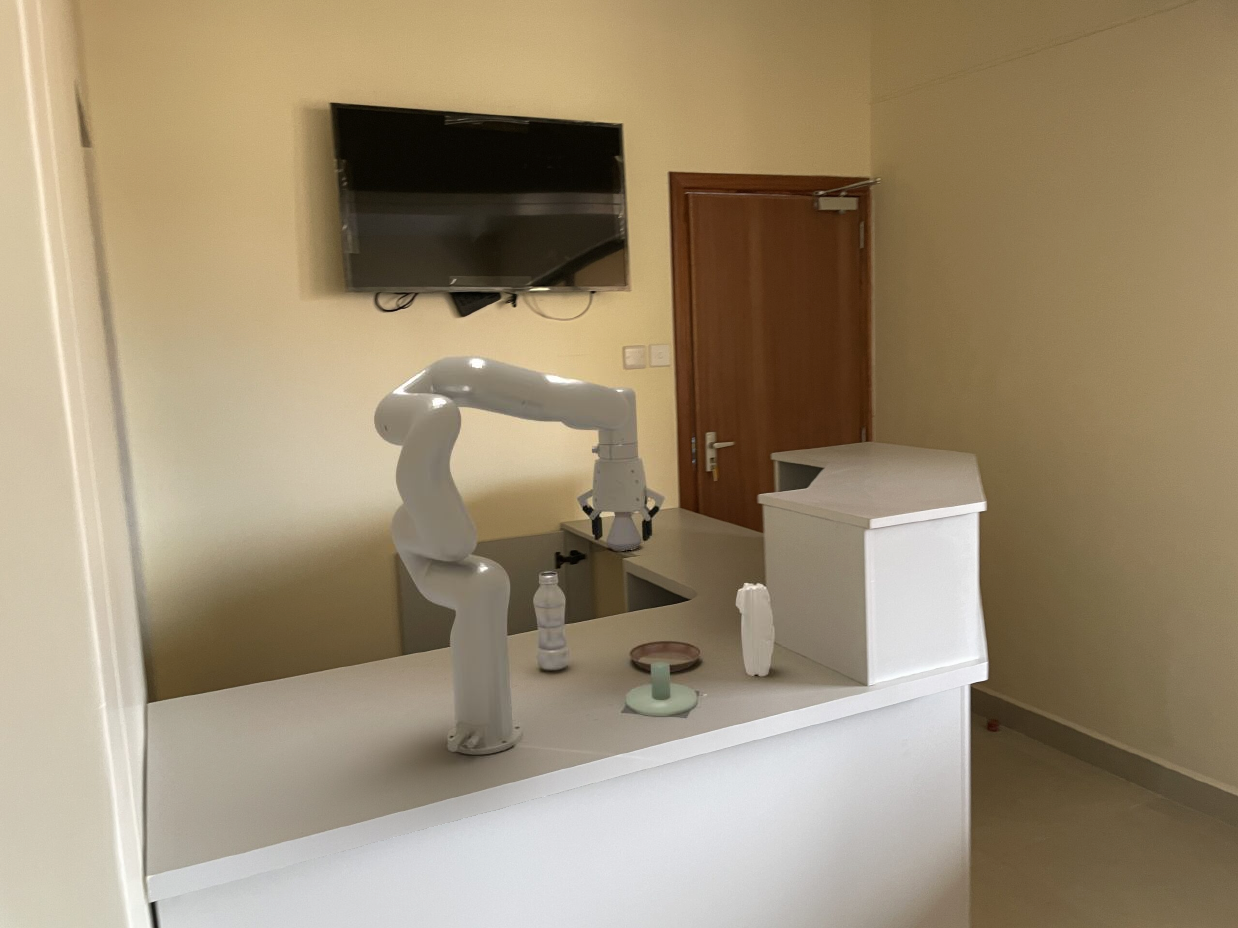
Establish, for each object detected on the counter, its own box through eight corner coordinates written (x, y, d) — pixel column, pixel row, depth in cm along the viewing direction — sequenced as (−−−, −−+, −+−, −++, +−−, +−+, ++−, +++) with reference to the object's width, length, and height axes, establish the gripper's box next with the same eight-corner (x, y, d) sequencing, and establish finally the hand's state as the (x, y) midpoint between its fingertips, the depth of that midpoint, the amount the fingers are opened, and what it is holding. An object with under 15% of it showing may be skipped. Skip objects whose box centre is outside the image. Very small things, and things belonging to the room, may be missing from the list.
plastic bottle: (565, 674, 177) (560, 578, 174) (533, 673, 178) (527, 577, 176) (573, 663, 183) (568, 570, 180) (542, 662, 185) (537, 569, 182)
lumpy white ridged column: (736, 679, 171) (775, 680, 169) (733, 589, 168) (772, 590, 167) (739, 667, 177) (776, 668, 176) (736, 580, 175) (773, 580, 173)
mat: (686, 719, 154) (686, 717, 154) (620, 714, 157) (620, 712, 157) (700, 692, 165) (699, 690, 165) (638, 688, 168) (638, 686, 168)
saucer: (647, 648, 191) (646, 636, 191) (711, 656, 185) (711, 644, 184) (617, 672, 178) (616, 659, 178) (685, 682, 171) (685, 668, 171)
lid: (688, 719, 153) (687, 680, 152) (617, 713, 157) (615, 675, 156) (703, 690, 165) (702, 654, 164) (636, 685, 169) (635, 650, 168)
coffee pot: (628, 554, 275) (627, 507, 273) (599, 550, 282) (597, 505, 280) (665, 540, 292) (663, 496, 290) (636, 537, 299) (634, 494, 297)
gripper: (569, 455, 168) (574, 542, 170) (657, 454, 163) (661, 544, 165) (581, 449, 175) (585, 534, 177) (666, 449, 170) (669, 535, 172)
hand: (622, 539), depth 171 cm, fingers open, 9 cm apart
